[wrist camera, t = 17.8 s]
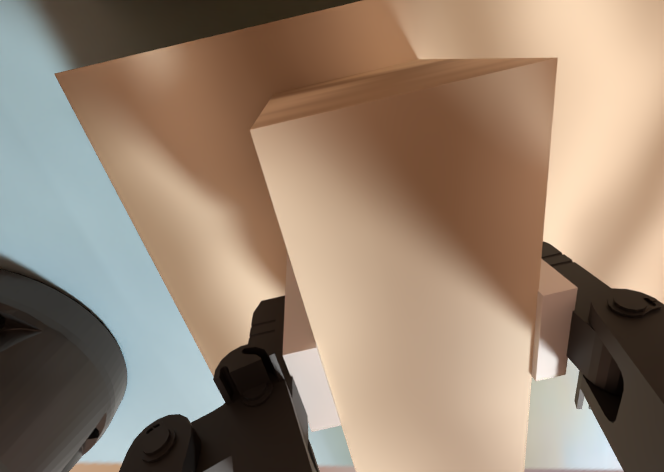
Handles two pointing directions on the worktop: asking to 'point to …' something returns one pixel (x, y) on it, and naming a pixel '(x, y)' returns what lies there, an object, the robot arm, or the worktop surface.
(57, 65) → the worktop surface
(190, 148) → the lid
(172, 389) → the worktop surface
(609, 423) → the robot arm
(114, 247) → the worktop surface
